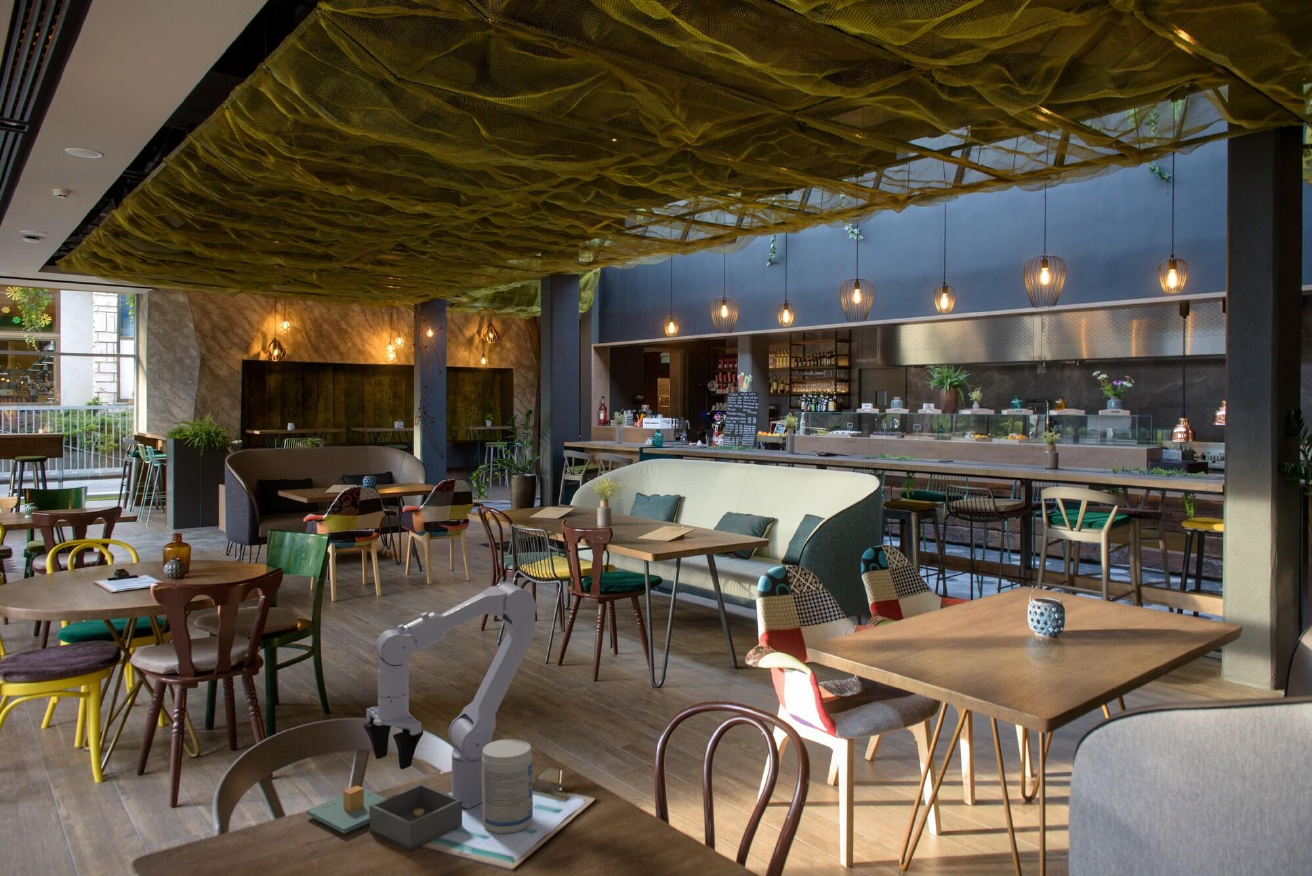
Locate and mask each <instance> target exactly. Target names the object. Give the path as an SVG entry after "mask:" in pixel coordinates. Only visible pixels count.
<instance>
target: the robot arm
mask: <svg viewBox="0 0 1312 876" xmlns="http://www.w3.org/2000/svg"><path fill="white" fill-rule="evenodd" d="M538 608H539V607H538V605H537V602H536V600H535V598H534V596H533V594H532V593H531V592H530V591H529V590H527V589H525V588H521V586H520V587H519V586H518V585H516V584H515V583H513V582H511V581H503V582H502V581H501V582H500V583H498V584H497V585H492V586H490V587H488V588H486V589H484V590H483V591H482V592H480V593H478V594H477V595H475V596H472V597H471V598H469V599H467V600H465V601H463V602H462V603H460V604H458V605H456V606H454V607H452V608H451V609H449V610H447V611H444V612H443V613H441V614H440V613H436V612H433V611H431V612H429V613H428V612H426V611H424V612H422V613H420V614H419V618H417V619H415V620H413V621H410V622H408V623H406V624H402V623H401V624H399V625H398V626H397V629H388V630H384V631H383V632H381V633H380V635H379V636H378V637H377V639H376V641H375V644H374V645H373V647H374V651H375V653H376V654H377V655H378V656H379V657H378V670H377V706H372V707H369V708H368V707H367V708H366V712H365V713H366V719H367V720H369V721H368V722H365V723H364V724H363V728H364V730H365V732H366V733H367V735H368V738H369V740H370V742H371V746H372V749H373V753H374V758H375V759H376V760H381V759H383V758H386V757H387V756H388V750H389V739H390V738H389V737H390V733H391V729H392V727H394V728H397V729H401V731H400V732H398V733H395V734H393V735H392V737H393V740H394V742H395V744H396V748H397V753H398V765H399V769H400V770H405V769H407V768H410V767H411V766H412V763H413V759H414V756H415V752H416V748H417V745H418V744H419V742H420V740H421V738H422V736H424V730H423V729H422V722H421V721H418V720H417V719H416V718H415V717H414V716H413V715H412V714H410V712H409V708H410V706H409V701H410V700H409V699H410V698H409V697H410V696H409V695H410V694H409V691H410V689H409V683H410V681H409V679H410V677H409V676H410V673H409V671H410V670H409V661H410V658H411V657H412V656H413V654H414V653H417V652H419V651H421V650H424V649H425V648H427V647H429V646H432V645H433V644H435V643H437V642H440V641H442V640H444V639H445V637H446V636H447V634H448V631H449V630H450V629H453V628H455V627H458V626H461V625H462V624H464V623H467V622H469V621H471V620H473V619H477V618H479V617H480V616H484V615H491V616H497V617H501V618H502V620H503V623H504V627H505V628H506V635H505V636H504V638H503V641H502V642H501V644H500V646H499V648H498V650H497V651H496V654H495V656H494V658H493V660H492V661H491V664H490V666H489V668H488V670H487V671H486V674H485V676H484V678H483V680H482V681H481V684H480V686H479V687H478V689H477V692H476V694H475V695H474V698H473V699H472V701H471V702H470V703H469V704H467V705H465V706H464V707H463V709H462V711H461V712H460V714H459V715H458V716H457V717H456V718H454V719H453V720H452V722H451V723H450V725H449V728H448V738H449V740H450V741H451V743H453V748H452V752H451V792H448V793H447V794H449V795H451V796H453V797H456V798H458V799H461V800H462V808H465V809H467V810H468V809H471V808H473V807H475V806H478V805H480V804H482V755H483V748H484V747H485V746H486V745H487V744H489V743H491V742H493V734H494V732H495V730H496V713H497V712H498V709H499V707H500V706H501V704H502V701H503V700H504V698H505V695H506V693H507V691H508V689H509V687H510V685H511V684H512V681H513V680H514V677H515V675H516V673H517V671H518V670H519V667H520V666H521V663H522V661H523V659H524V657H525V655H526V653H527V652H528V649H529V647H530V645H531V644H532V642H533V640H534V638H535V633H536V612H537V610H538Z"/></svg>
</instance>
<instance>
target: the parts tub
mask: <svg viewBox="0 0 1312 876" xmlns="http://www.w3.org/2000/svg"><path fill="white" fill-rule="evenodd" d="M385 798H386V799H384V800H381V801H379V802H377V803H374V804H372V805H370V806H369V823H368V824H369V826H368V827H369V833H371V834H373V835H375V836H377V837H380V838H381V839H383V840H385V841H387V842H389V843H390V844H391V843H392V844H394V846H395V845H396V847H400V848H401V849H403V850H405V851H408V852H410V853H411V852H413V851H415V850H417V849H419V848H421V847H423V846H425V845H427V844H429V843H431V842H433V841H435V840H437V839H439V838H441V837H444V836H445V835H447V834H449V833H451V832H453V831H455V830H457V829H460V828H461V827H463V807H462V800H461V799H458V798H456V797H453V796H451V795H449V794H448V793H446V792H443V791H441V790H438V789H436V788H433V787H431V786H429V785H426V784H424V783H419V784H417V785H415V786H411V787H410V788H406V789H405V790H403V791H400V792H397V793H395V794H394V795H391V796H388V797H385Z"/></svg>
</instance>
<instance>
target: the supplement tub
mask: <svg viewBox="0 0 1312 876" xmlns="http://www.w3.org/2000/svg"><path fill="white" fill-rule="evenodd" d="M533 784H534V783H533V752H532V746H531V744H530V743H529V742H528V741H526V740H523V739H515V738H508V739H498V740H495V741H492V742H491V743H489V744H487V745H486V746H485V747H484V748H483V755H482V803H481V806H482V807H481V810H482V811H481V812H482V815H481V816H482V824H483V826H484V828H485V829H487V830H488V831H491V832H492V833H495V834H511V833H517V832H519V831H522V830H524V829H526V828H527V827H528V826H530V825H531V823H532V822H533V814H534V813H533V812H534V810H533V805H534V800H533V799H534V797H533V790H534V789H533V788H534V787H533Z"/></svg>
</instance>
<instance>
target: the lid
mask: <svg viewBox="0 0 1312 876" xmlns="http://www.w3.org/2000/svg"><path fill="white" fill-rule="evenodd" d="M374 793H375V792H373V791H371V790H368V789H367V788H364V787H361V786H359V785H355V786H352V787H349V788H347V789H344V790H343V795H340V796H338V797H336V798H333V799H330V800H327V801H326V802H323V803H321V804H318V805H316V806H313V807H310V808H308V809H306V815H307V816H310V817H312V818H313V819H316V820H317V821H319V822H321V823H322V824H325V825H327V826H329V827H330V828H333V829H334V830H336V831H338V832H340V833H342V834H348V833H349V832H352V831H353V830H356V829H358V828H361V827H363V826H364V825H367V824H369V806H370V805H372V804H374V803H377V802H379V801H381V800H384V799H386V798H387V797H384V796H381V795H379V794H377V793H375V794H374ZM369 794H371V795H370V796H367V795H369ZM343 801H344V802H343ZM333 804H336V805H333ZM326 806H329V807H326ZM322 807H325V808H322ZM314 809H315V810H314ZM307 812H308V813H307Z"/></svg>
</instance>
